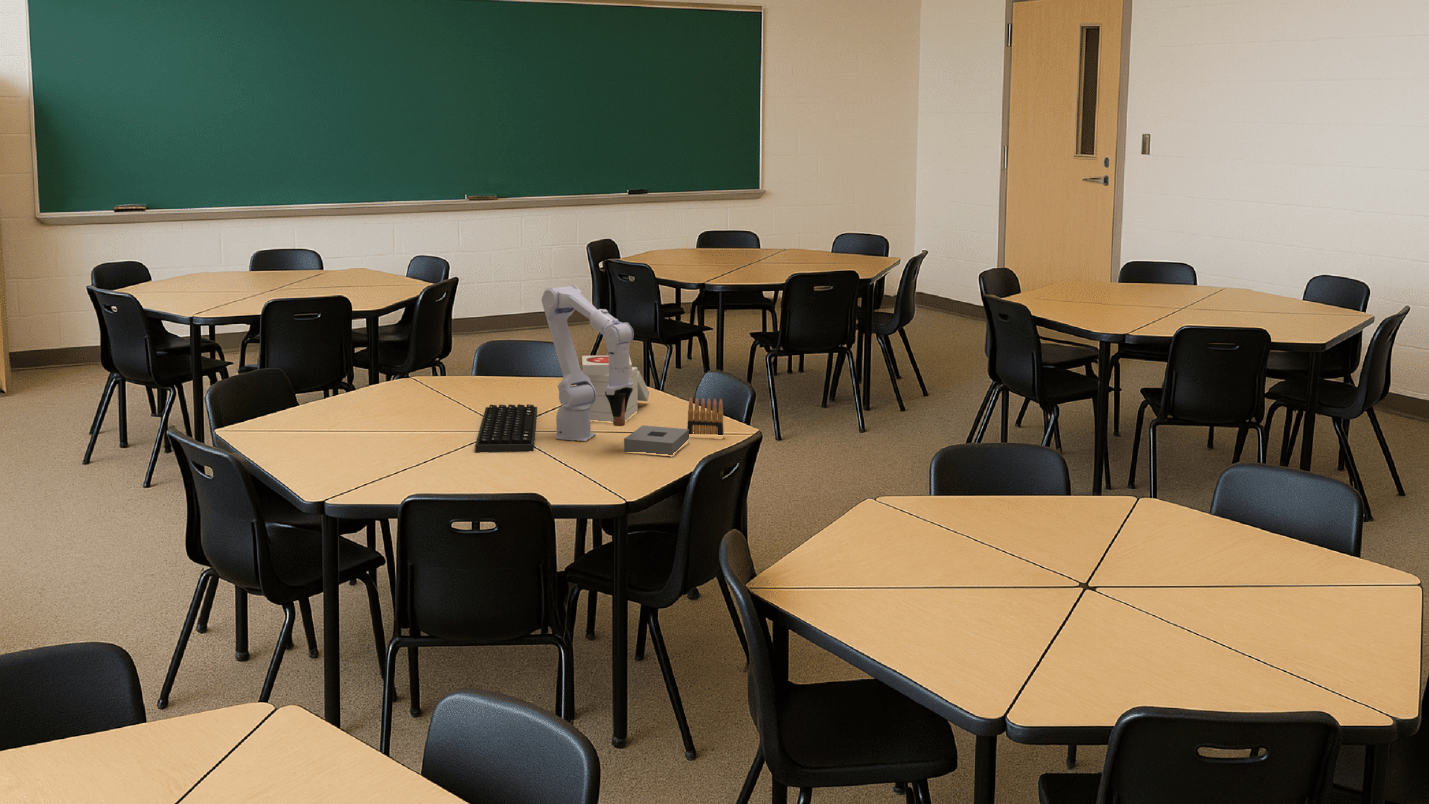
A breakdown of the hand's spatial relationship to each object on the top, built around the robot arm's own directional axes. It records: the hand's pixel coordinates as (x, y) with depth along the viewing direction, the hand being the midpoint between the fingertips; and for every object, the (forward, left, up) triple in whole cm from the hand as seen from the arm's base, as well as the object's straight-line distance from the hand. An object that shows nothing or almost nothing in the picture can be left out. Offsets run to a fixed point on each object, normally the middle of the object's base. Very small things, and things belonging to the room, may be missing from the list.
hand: (619, 415), depth 324 cm
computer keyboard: (-38, +8, -11) cm, 40 cm away
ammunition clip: (+19, +20, -10) cm, 30 cm away
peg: (0, 0, -3) cm, 3 cm away
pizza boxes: (-17, +40, -10) cm, 45 cm away
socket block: (+9, +5, -10) cm, 15 cm away
